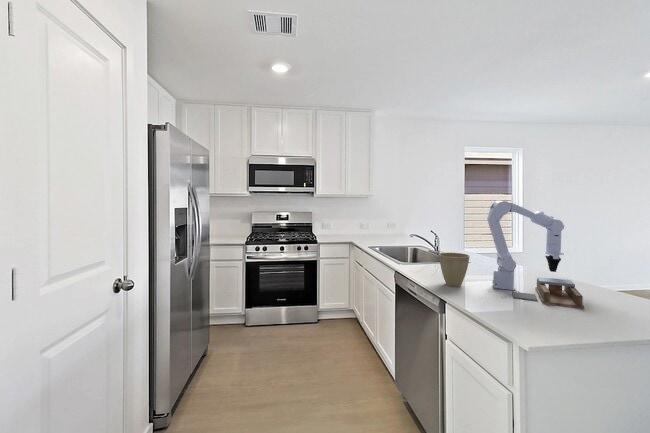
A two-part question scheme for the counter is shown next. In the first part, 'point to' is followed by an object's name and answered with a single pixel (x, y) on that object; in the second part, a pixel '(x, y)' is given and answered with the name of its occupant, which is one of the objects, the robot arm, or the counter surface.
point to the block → (555, 289)
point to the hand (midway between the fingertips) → (552, 271)
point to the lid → (556, 281)
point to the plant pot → (454, 267)
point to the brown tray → (560, 296)
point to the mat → (524, 296)
